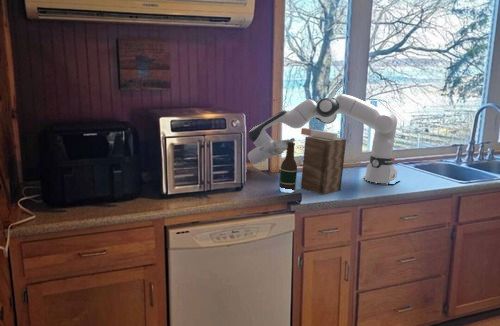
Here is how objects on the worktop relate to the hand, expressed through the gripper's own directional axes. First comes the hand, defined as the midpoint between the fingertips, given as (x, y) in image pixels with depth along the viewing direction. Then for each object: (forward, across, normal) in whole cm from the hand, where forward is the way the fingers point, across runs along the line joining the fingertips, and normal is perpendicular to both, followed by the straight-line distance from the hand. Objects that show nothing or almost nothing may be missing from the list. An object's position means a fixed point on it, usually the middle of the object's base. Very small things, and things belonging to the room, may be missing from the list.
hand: (288, 139), depth 241 cm
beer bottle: (+4, -19, +28) cm, 34 cm away
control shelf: (+10, 0, +30) cm, 32 cm away
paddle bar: (+19, 0, +6) cm, 20 cm away
